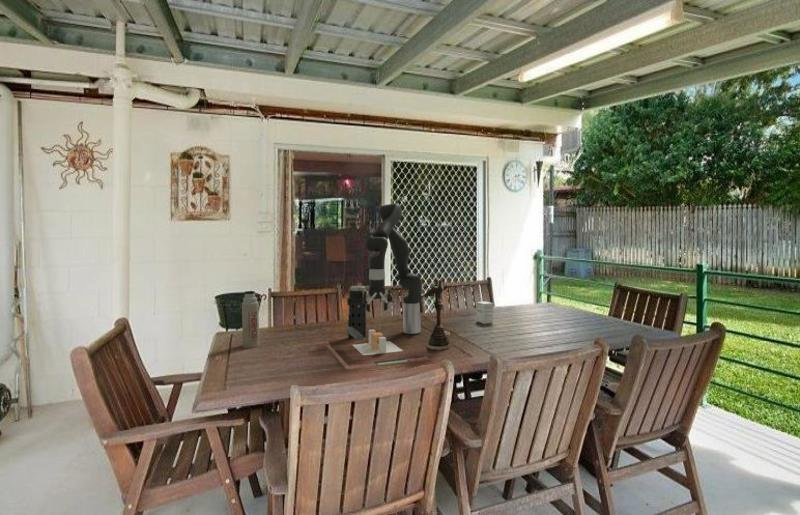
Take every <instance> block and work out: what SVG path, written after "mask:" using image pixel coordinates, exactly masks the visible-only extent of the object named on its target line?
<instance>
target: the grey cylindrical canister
mask: <svg viewBox="0 0 800 515" xmlns="http://www.w3.org/2000/svg"><path fill="white" fill-rule="evenodd" d="M493 314H494V303H493V302H490V301H477V302H476V322H477V323H479V324H480V323H481V324H483V325H485V324H493V323H494V322H493V321H494V315H493Z"/></svg>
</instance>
